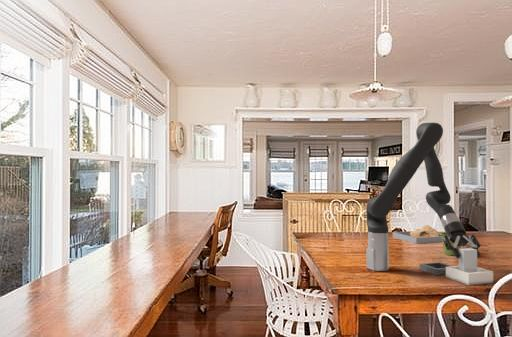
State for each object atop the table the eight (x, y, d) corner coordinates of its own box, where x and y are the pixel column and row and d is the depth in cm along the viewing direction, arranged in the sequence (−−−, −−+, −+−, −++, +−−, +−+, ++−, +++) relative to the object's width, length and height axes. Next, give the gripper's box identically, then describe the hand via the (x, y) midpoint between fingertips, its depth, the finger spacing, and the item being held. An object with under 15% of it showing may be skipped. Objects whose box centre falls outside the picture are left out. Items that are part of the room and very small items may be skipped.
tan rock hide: (426, 253, 254) (426, 242, 251) (407, 244, 266) (406, 234, 263) (444, 240, 262) (444, 230, 259) (424, 232, 274) (424, 222, 271)
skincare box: (471, 276, 172) (470, 247, 172) (478, 278, 167) (477, 249, 167) (457, 276, 171) (457, 248, 171) (464, 279, 166) (464, 250, 167)
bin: (468, 285, 161) (468, 273, 161) (445, 277, 173) (445, 266, 173) (493, 282, 165) (493, 271, 165) (469, 274, 177) (469, 264, 177)
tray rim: (416, 243, 251) (416, 238, 251) (392, 237, 274) (392, 232, 274) (448, 241, 258) (448, 235, 258) (423, 235, 281) (423, 230, 281)
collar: (436, 275, 177) (436, 269, 177) (419, 269, 187) (419, 263, 187) (456, 273, 180) (456, 267, 180) (439, 267, 190) (439, 262, 191)
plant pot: (444, 251, 227) (444, 231, 227) (467, 254, 218) (467, 233, 218) (436, 254, 219) (436, 233, 219) (459, 258, 210) (459, 236, 210)
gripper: (440, 220, 177) (456, 252, 165) (471, 220, 178) (489, 251, 167) (434, 231, 182) (448, 262, 170) (463, 230, 183) (480, 261, 172)
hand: (468, 257), depth 169 cm, fingers open, 8 cm apart
